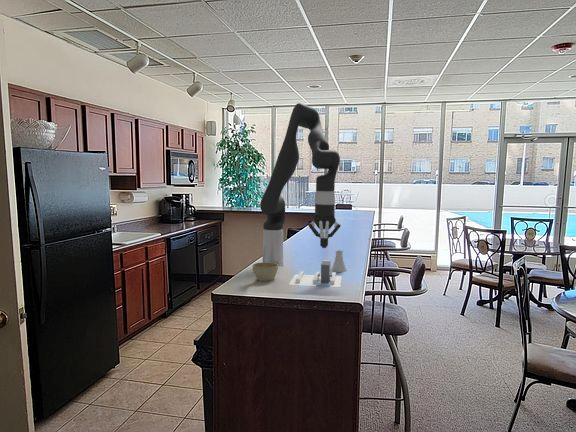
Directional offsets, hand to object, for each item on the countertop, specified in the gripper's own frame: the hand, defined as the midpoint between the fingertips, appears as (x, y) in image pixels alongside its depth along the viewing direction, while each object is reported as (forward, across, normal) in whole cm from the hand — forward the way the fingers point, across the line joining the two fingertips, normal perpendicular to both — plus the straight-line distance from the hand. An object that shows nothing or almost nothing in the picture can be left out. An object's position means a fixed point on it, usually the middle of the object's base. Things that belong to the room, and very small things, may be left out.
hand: (324, 247), depth 152 cm
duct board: (+14, +3, +1) cm, 14 cm away
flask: (+14, -5, -17) cm, 23 cm away
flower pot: (+15, +23, +2) cm, 27 cm away
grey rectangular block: (+13, -1, 0) cm, 13 cm away
